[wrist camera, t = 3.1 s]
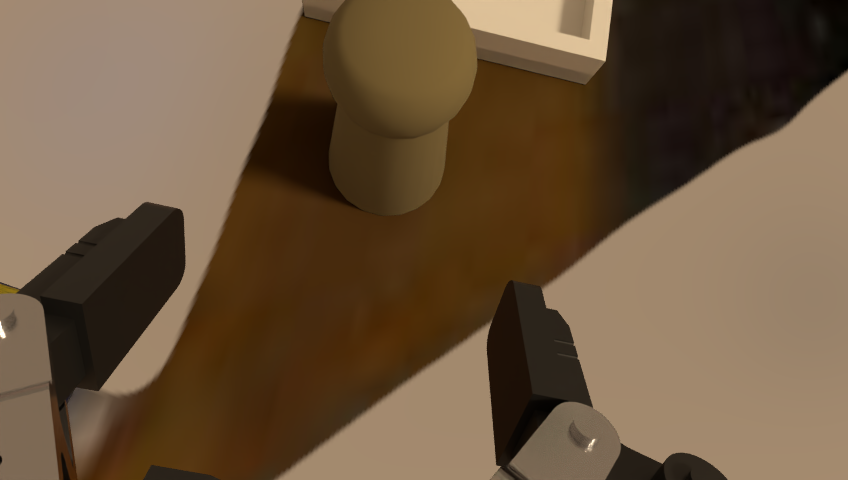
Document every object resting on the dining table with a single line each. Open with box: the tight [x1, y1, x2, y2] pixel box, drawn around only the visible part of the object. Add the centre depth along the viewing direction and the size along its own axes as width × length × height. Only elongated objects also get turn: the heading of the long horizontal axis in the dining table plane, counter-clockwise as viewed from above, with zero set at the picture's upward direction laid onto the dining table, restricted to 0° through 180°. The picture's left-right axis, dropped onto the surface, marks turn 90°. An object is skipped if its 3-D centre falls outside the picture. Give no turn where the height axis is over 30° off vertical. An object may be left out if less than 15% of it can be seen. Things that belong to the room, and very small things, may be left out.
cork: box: [323, 0, 477, 216], centre depth 21 cm, size 6×6×11 cm
